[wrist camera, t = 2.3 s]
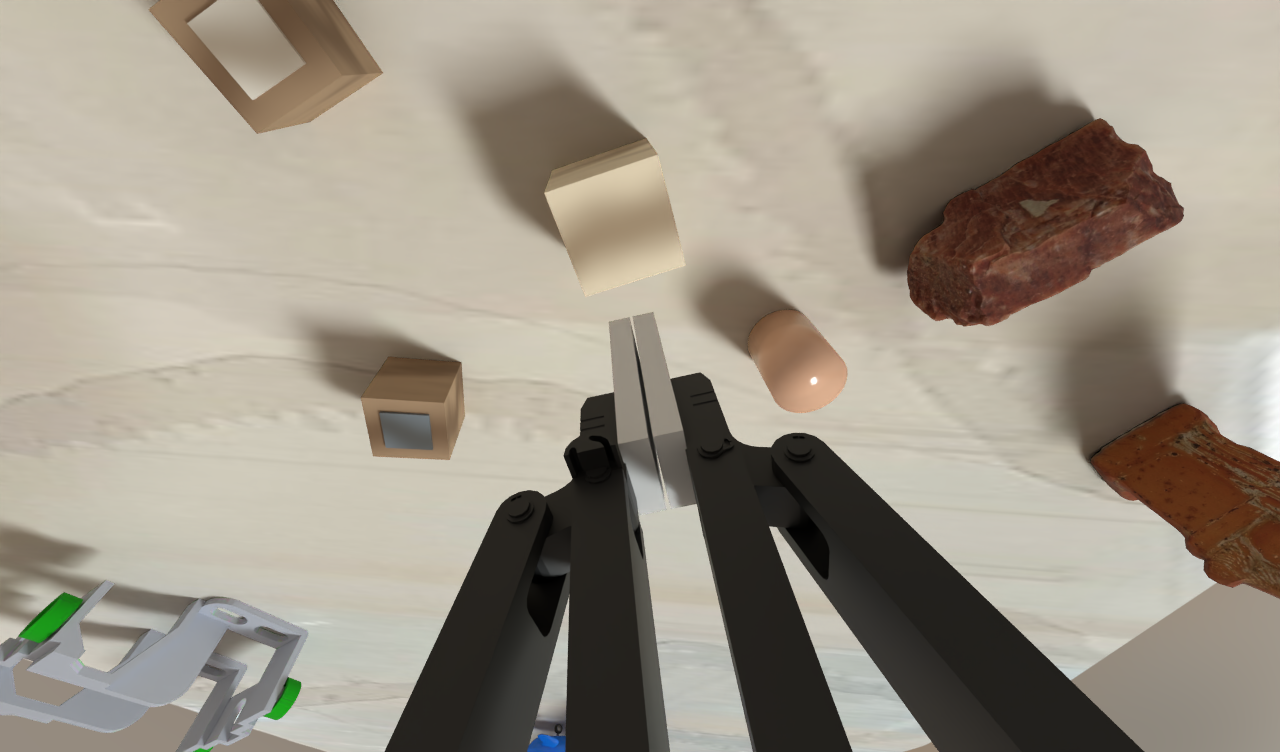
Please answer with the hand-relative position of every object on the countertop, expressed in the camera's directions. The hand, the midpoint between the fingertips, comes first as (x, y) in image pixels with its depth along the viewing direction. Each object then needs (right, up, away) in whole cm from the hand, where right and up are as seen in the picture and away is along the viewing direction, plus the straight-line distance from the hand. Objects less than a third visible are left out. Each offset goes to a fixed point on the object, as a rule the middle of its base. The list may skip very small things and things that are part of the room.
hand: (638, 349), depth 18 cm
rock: (+29, +13, +21) cm, 38 cm away
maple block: (-2, +12, +18) cm, 22 cm away
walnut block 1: (-20, +19, +11) cm, 30 cm away
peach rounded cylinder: (+13, +2, +26) cm, 29 cm away
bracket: (-56, -31, +41) cm, 76 cm away
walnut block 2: (-19, -2, +25) cm, 32 cm away
